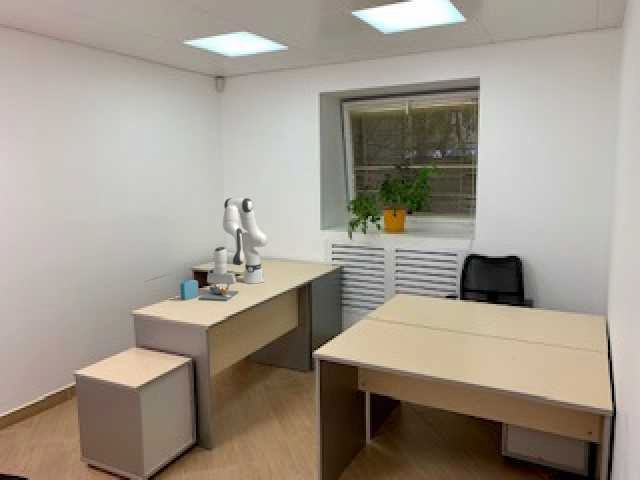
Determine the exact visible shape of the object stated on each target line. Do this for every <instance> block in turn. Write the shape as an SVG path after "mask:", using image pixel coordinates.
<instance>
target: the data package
mask: <svg viewBox="0 0 640 480" xmlns="http://www.w3.org/2000/svg"><path fill="white" fill-rule="evenodd" d="M179 288H180V289H179V290H180V298H181V300H184V301H189V300H193V299H195V298H199V297H200V296H199V281H198V280H195V279H190V280H186V281H182V282H180V284H179Z"/></svg>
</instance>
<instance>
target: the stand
mask: <svg viewBox="0 0 640 480" xmlns="http://www.w3.org/2000/svg"><path fill="white" fill-rule="evenodd" d="M227 291H228V295H225V294H222V295H215V293H214V291H211V290H209V291H208V292H206V293H205V294H202V295H201V296H198V301H209V302H210V301H211V302H212V301H214V302H227V301H229V300H230V299H232V298H233V297H235V296H236V295H237V294H239V291H238V290H227Z"/></svg>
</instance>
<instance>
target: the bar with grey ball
mask: <svg viewBox="0 0 640 480" xmlns="http://www.w3.org/2000/svg"><path fill="white" fill-rule="evenodd" d="M209 291H214V293H215V295H222V294H225V295H228V291H229V290H226V289H224V286H217V288H216V287H214V285H213V286H209Z"/></svg>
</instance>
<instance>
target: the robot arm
mask: <svg viewBox="0 0 640 480" xmlns="http://www.w3.org/2000/svg"><path fill="white" fill-rule="evenodd" d="M253 203H254V202H253V201H252V200H251V199H250V198H247V197H246V198H245V197H244V198H243V197H235V198H231V197H230V198H227V199H226V200H225V201H224V204H223V206H224V212H223V218H222V219H223V220H222V228H223V230H224V231H225V232H226V233H227V234H229V235H231V236H232V237H233V239H234V242H235V250H228V249H226V247H223V246H220V247H216V248H215V249H214V253H213V260H214V261H213V262H214V268H210V269H208V271H207V276H206V277H207V279H206V282H207V283H208V284H213V287H216V288H217V287H218V286H217V284H221V285H223V284H224V285H226V287H225V290H227V291H229V287H230V285H234V284H236V283H237V282H236V281H237V279H236V272H235V271H234V270H228V265H235V266H241V265H242V264H243V263H244V262H245V265H244V266H245V267H244V269H245V270H243V279H242V280H241V281H242V283H243V282H244V283H245V284H251V285H252V284H260V283H266V281H267V279H268V277H267V276H265V271H264V269H262V263H261V255H260V252H258V251H257V250H256V249H255V248H263V247H266V246H267V244H268V236H267V235H266V234H265V233H263V231H262V230H260V228H259V226H258V223H257V219H256V215H255V211H254V204H253ZM239 219H240V220H239ZM239 221H240V222H241V223H240V224H241V227H242V229H244V231H242V229H241V228H240V224H239Z"/></svg>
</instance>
